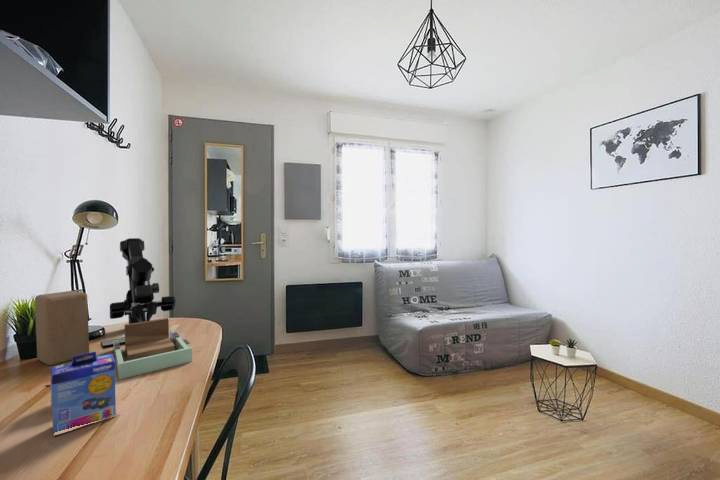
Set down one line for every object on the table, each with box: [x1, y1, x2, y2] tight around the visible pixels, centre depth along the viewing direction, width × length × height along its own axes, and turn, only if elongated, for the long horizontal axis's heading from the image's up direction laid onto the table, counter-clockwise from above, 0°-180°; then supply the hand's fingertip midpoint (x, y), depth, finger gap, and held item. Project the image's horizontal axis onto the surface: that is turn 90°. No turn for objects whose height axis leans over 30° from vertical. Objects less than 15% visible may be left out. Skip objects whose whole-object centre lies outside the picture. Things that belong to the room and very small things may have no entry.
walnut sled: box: [124, 317, 176, 361], centre depth 102 cm, size 12×12×9 cm
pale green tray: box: [111, 329, 193, 380], centre depth 100 cm, size 28×23×4 cm
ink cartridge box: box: [50, 351, 117, 434], centre depth 65 cm, size 10×6×14 cm, turn 135°
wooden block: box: [34, 290, 90, 366], centre depth 99 cm, size 10×10×20 cm
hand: (146, 327), depth 107 cm, fingers closed
